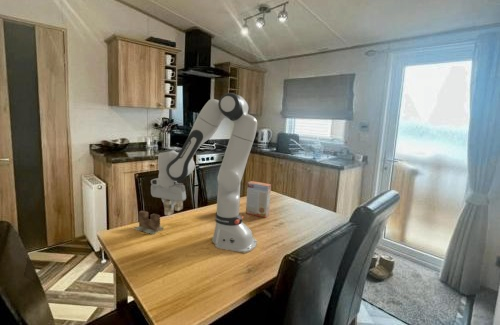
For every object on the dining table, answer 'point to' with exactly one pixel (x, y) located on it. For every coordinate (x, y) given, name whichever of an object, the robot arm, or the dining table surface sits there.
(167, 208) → the maple slotted plate
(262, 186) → the cracker box
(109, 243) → the dining table surface
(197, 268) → the dining table surface
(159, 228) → the walnut slotted plate
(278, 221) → the dining table surface
